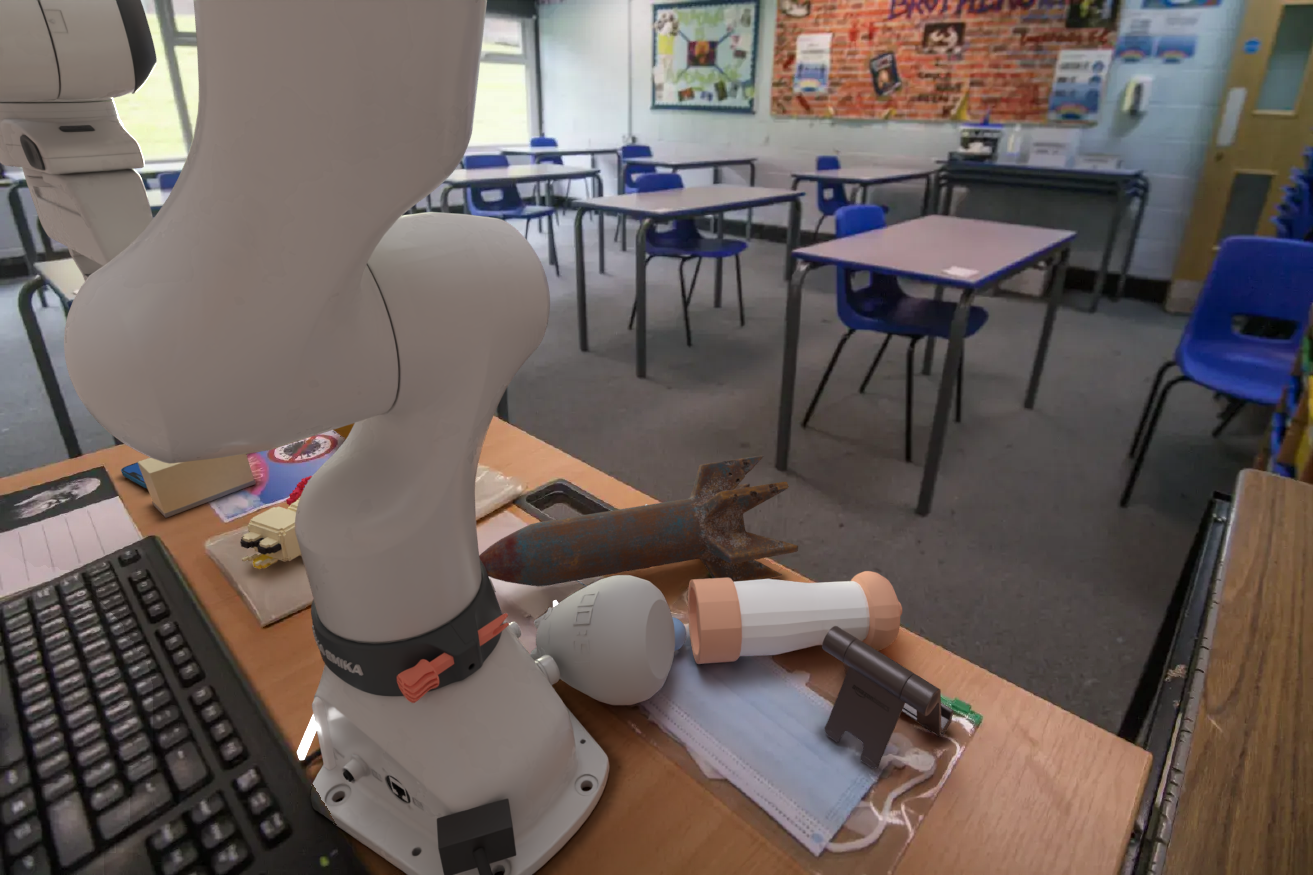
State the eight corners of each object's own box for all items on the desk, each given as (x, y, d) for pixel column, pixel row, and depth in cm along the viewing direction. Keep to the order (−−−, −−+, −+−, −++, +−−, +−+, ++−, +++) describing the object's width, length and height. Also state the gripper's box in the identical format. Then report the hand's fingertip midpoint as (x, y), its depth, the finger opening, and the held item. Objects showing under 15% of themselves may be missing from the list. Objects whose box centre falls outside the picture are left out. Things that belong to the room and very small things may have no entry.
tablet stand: (951, 730, 56) (975, 653, 52) (901, 790, 51) (923, 710, 47) (856, 668, 62) (871, 595, 58) (802, 718, 57) (815, 641, 53)
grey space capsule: (628, 700, 50) (489, 696, 54) (681, 712, 58) (557, 707, 63) (638, 558, 54) (508, 565, 58) (686, 589, 63) (569, 592, 67)
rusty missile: (489, 635, 70) (767, 581, 77) (482, 624, 58) (809, 563, 65) (475, 516, 73) (741, 475, 80) (465, 485, 62) (776, 440, 69)
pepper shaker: (702, 624, 57) (927, 610, 59) (689, 562, 63) (893, 551, 65) (697, 681, 61) (907, 667, 63) (685, 618, 67) (877, 606, 69)
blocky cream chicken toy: (388, 467, 94) (217, 558, 73) (381, 406, 91) (199, 484, 69) (448, 483, 91) (287, 584, 69) (444, 420, 87) (272, 507, 66)
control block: (256, 483, 88) (243, 441, 85) (165, 518, 81) (149, 473, 78) (242, 473, 90) (229, 431, 87) (153, 505, 83) (136, 461, 80)
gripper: (-16, 133, 62) (45, 287, 68) (47, 151, 50) (114, 334, 57) (70, 130, 66) (121, 275, 72) (147, 146, 54) (199, 316, 61)
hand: (118, 301), depth 64 cm, fingers open, 8 cm apart
